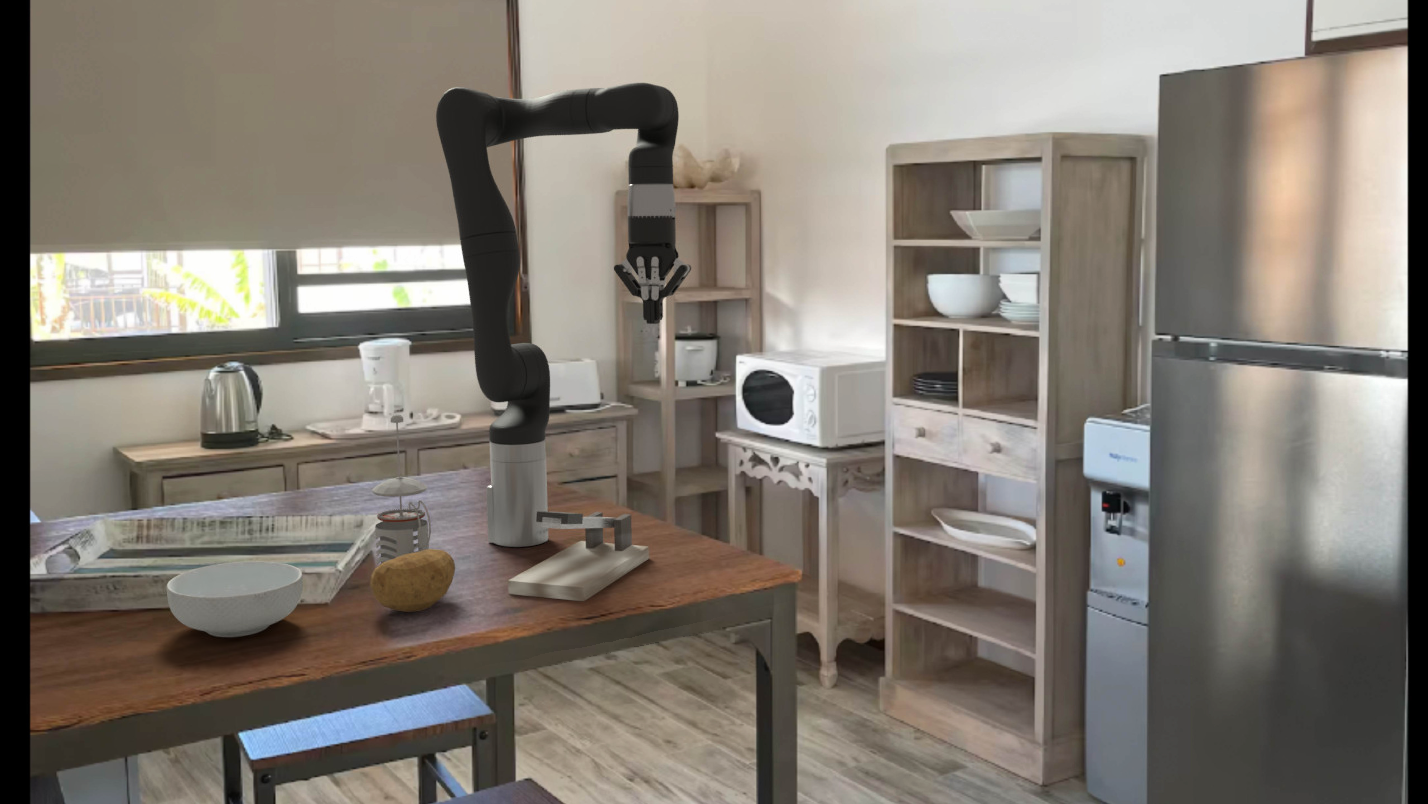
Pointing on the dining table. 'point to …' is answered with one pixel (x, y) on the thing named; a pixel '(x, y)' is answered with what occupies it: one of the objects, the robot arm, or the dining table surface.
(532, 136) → the robot arm
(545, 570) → the press base
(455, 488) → the dining table surface
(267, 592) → the cereal bowl
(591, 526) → the lever
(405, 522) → the french press
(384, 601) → the potato
